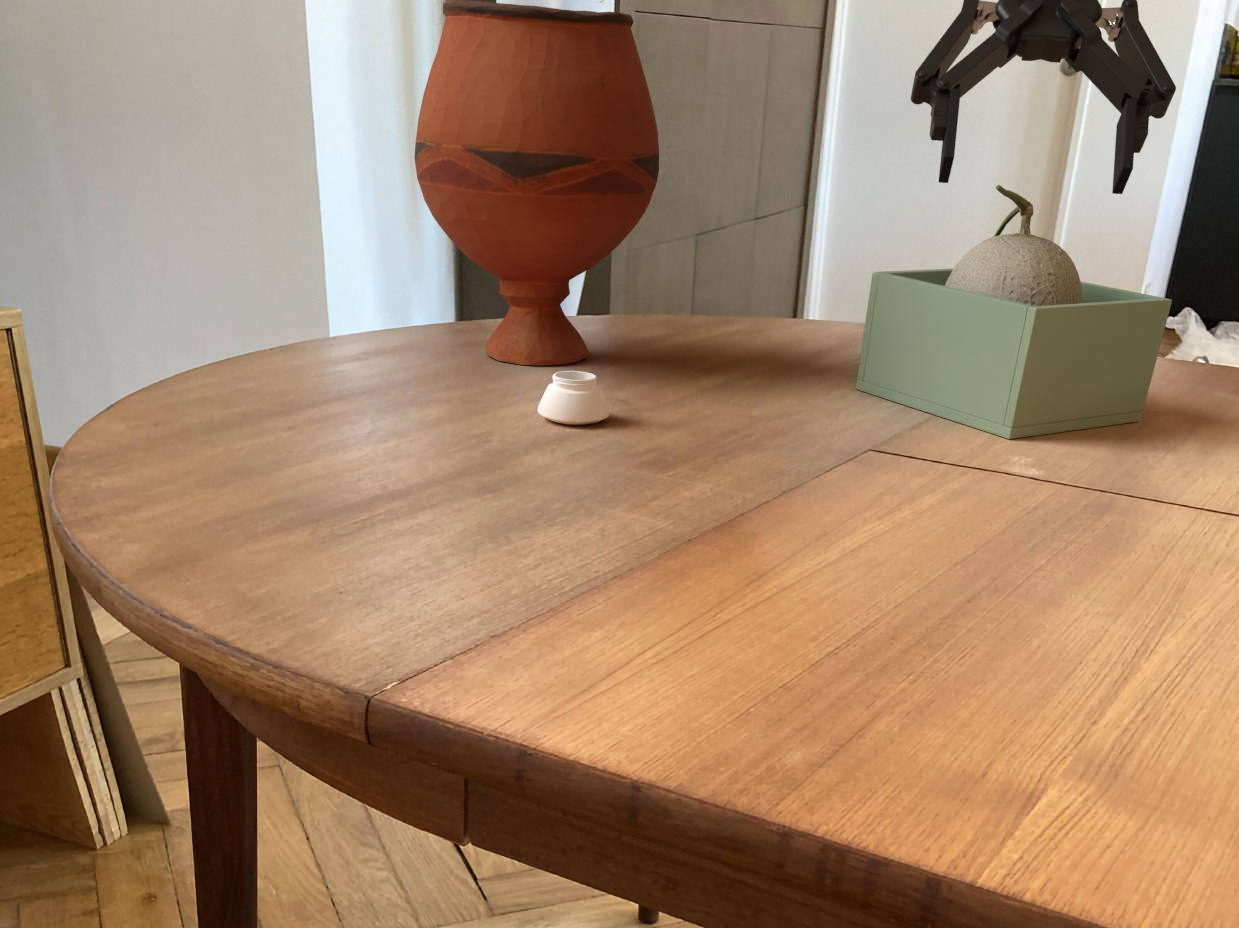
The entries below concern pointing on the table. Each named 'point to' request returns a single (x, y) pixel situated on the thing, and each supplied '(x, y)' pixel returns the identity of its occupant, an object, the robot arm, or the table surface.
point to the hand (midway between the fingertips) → (1033, 176)
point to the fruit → (1019, 265)
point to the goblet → (536, 156)
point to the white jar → (574, 399)
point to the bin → (1010, 354)
